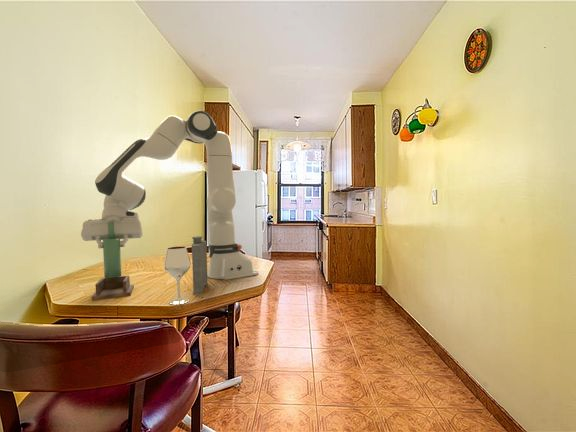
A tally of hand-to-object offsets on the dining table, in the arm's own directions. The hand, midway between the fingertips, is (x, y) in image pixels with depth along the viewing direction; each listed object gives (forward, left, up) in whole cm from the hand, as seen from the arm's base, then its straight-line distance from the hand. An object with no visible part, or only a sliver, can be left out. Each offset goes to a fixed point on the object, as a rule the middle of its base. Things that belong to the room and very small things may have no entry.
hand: (111, 246), depth 114 cm
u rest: (0, -1, -17) cm, 17 cm away
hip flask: (-30, +7, -18) cm, 36 cm away
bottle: (0, -1, -11) cm, 11 cm away
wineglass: (-22, +21, -18) cm, 35 cm away
